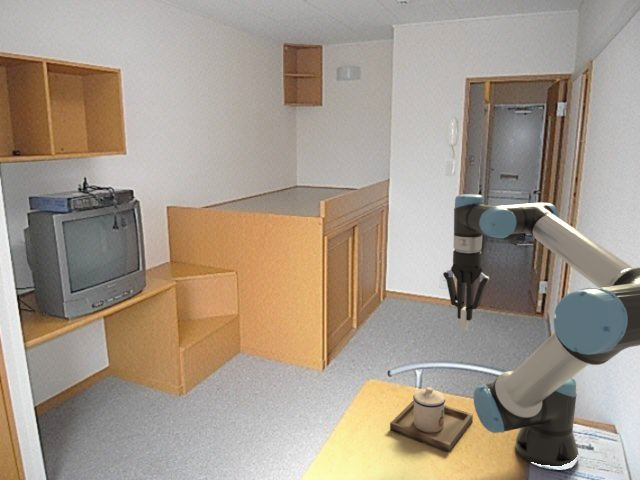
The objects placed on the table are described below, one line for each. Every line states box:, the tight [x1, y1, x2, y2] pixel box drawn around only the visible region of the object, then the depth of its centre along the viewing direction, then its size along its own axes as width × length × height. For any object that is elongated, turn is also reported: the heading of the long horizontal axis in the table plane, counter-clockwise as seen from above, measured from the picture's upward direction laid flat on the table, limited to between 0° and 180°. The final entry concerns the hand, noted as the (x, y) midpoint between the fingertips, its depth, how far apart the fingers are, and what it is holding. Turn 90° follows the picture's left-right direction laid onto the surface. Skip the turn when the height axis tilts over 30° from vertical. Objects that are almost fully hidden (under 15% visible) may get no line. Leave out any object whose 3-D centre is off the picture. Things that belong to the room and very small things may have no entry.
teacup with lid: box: [412, 386, 446, 433], centre depth 141 cm, size 12×9×12 cm
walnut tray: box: [389, 399, 474, 454], centre depth 142 cm, size 18×18×2 cm
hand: (464, 329), depth 138 cm, fingers closed
